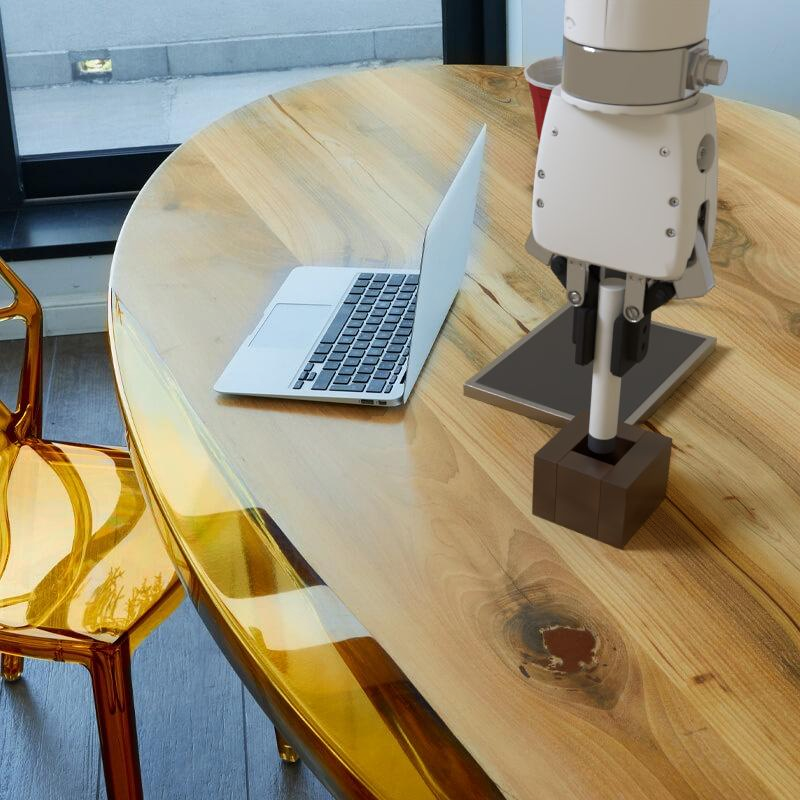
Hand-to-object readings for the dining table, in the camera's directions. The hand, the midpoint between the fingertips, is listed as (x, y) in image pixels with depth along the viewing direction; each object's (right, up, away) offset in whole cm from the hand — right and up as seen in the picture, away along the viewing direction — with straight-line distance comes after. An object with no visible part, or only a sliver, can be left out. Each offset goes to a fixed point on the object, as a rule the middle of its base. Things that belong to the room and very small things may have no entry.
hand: (608, 360), depth 68 cm
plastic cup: (+7, +26, +63) cm, 69 cm away
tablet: (+3, 0, +22) cm, 22 cm away
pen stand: (+1, -10, +6) cm, 12 cm away
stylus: (0, -6, +3) cm, 7 cm away
